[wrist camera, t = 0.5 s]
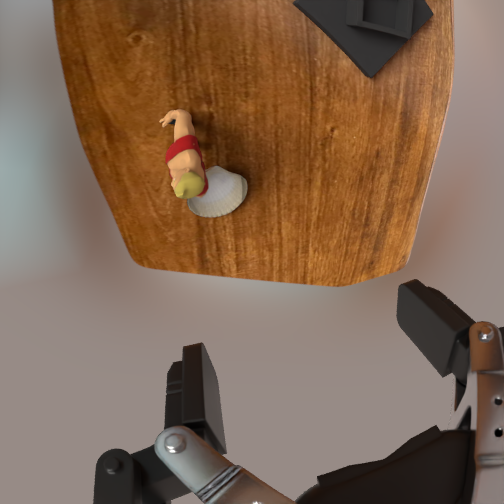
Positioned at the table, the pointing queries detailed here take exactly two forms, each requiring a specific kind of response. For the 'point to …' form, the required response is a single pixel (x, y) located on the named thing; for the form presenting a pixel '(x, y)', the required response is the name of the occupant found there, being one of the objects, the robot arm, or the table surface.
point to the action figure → (185, 157)
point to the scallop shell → (219, 193)
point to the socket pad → (359, 38)
